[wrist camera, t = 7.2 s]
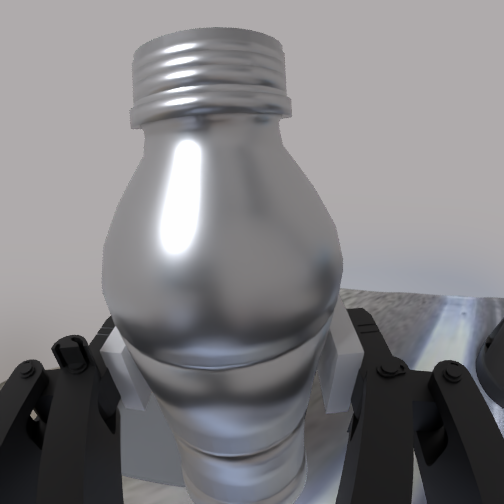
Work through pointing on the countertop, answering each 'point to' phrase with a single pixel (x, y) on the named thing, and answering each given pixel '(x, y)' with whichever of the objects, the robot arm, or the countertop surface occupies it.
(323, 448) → the countertop surface
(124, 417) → the tray
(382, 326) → the countertop surface
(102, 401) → the robot arm
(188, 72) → the silver metal bottle
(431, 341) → the countertop surface
